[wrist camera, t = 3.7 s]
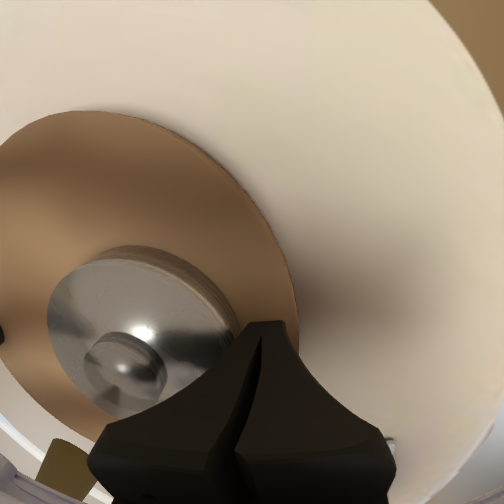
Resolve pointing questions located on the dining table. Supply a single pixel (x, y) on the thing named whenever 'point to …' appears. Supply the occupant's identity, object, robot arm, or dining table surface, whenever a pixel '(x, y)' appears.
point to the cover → (137, 327)
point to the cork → (66, 470)
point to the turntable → (119, 234)
